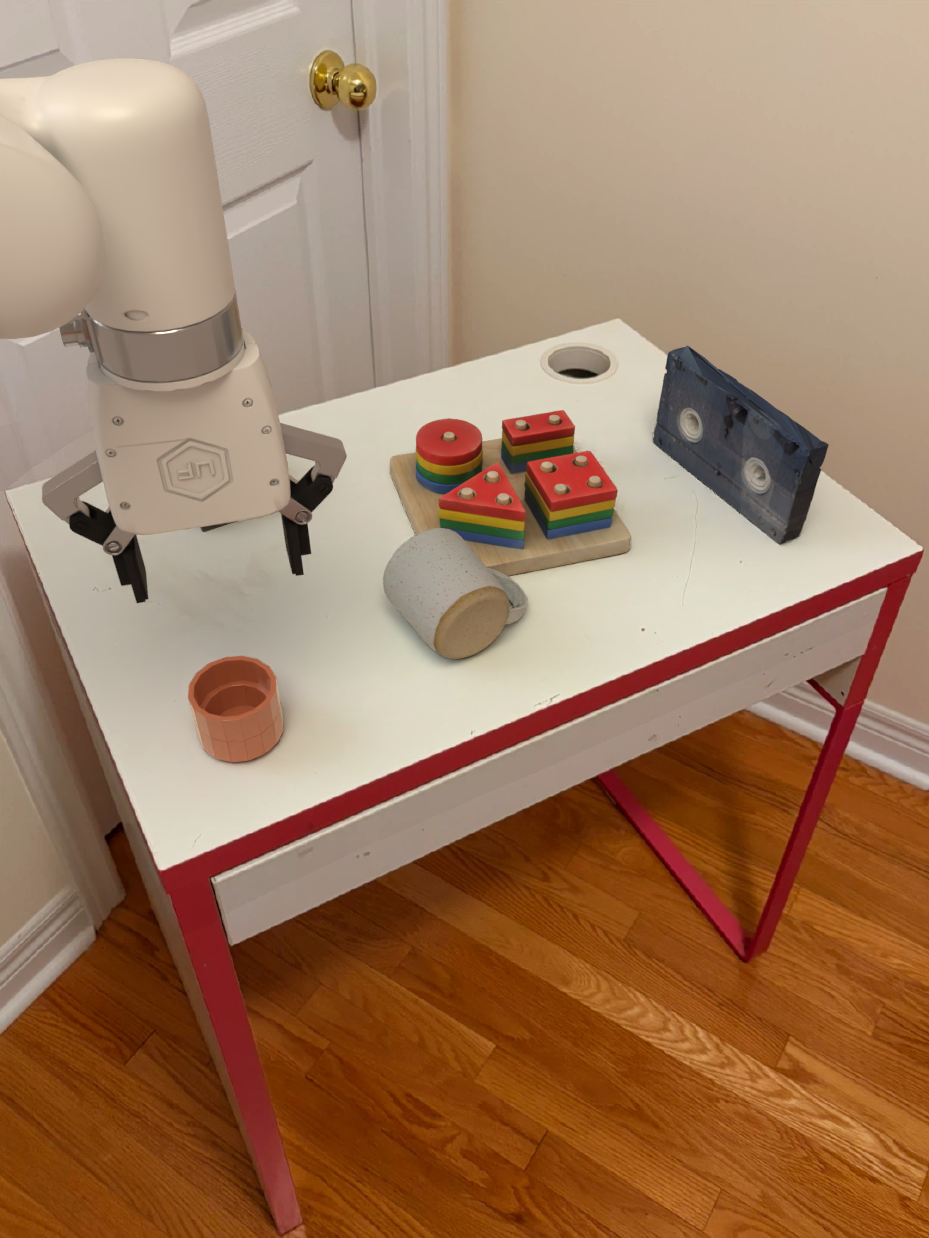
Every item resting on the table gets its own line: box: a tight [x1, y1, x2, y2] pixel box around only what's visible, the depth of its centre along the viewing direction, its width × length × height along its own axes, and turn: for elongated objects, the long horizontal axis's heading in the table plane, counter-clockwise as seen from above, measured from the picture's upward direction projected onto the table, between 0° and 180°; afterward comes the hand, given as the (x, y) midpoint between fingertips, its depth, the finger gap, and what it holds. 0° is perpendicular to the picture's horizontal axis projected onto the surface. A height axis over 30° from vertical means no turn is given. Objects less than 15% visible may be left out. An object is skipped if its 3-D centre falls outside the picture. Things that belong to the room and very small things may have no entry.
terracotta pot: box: [187, 655, 284, 763], centre depth 74 cm, size 6×6×5 cm
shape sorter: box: [389, 409, 632, 577], centre depth 93 cm, size 18×17×6 cm
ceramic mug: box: [382, 528, 528, 660], centre depth 82 cm, size 11×8×8 cm
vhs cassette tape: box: [652, 345, 830, 545], centre depth 94 cm, size 18×3×10 cm, turn 29°
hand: (219, 574), depth 66 cm, fingers open, 9 cm apart
